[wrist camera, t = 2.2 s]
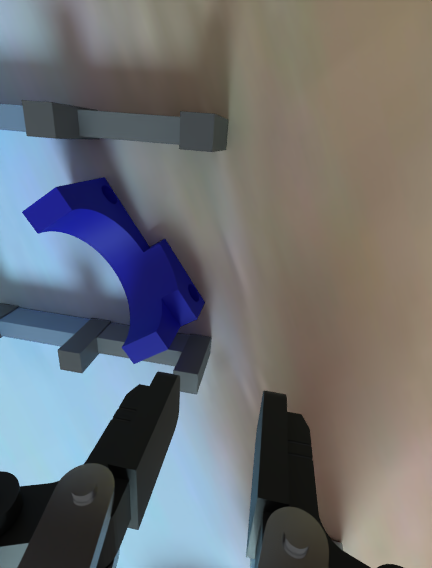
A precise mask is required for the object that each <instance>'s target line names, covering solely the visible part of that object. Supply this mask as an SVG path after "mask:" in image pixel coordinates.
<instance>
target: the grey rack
mask: <svg viewBox="0 0 432 568" xmlns="http://www.w3.org/2000/svg"><path fill="white" fill-rule="evenodd" d="M0 130H12V131H23V132H26V134H27V136H33V137H45V138H58V139H99V138H106V139H118V140H130V141H142V142H154V143H166V144H178V145H179V149H184V150H196V151H207V152H215V151H222V150H226V145H227V132H228V119H225V118H223V117H221V116H218V115H216V114H210V113H196V112H182V111H180V117H173V116H160V115H146V114H132V113H118V112H105V111H98V110H93V109H87V108H82V107H76V106H70V105H64V104H59V103H53V102H40V101H26V100H22V105H9V104H0ZM129 328H130V325H124V324H117V323H111V321H108V320H102V319H95V318H91V319H86V318H80V317H74V316H68V315H61V314H55V313H49V312H43V311H37V310H30V309H24V308H19V307H18V306H14V305H8V304H2V303H0V338H1V337H3V336H4V337H10V338H16V339H21V340H27V341H33V342H39V343H44V344H50V345H56V346H61V347H60V348H59V349H58V356H59V363H60V369H61V370H67V371H72V372H78V373H83V372H84V371H85V369H86V368H87V367H88V366H89V365H90V364H91V362H92V361H93V360H94V359H95V358H96V357H97V355H98V354H99V353H102V354H107V355H113V356H119V357H125V358H129V357H128V355H127V354H126V353H125V351H124V350H123V349H122V346H123V344H124V343H125V341H126V339H127V336H128V333H129ZM210 347H211V337H207V336H201V335H195V334H190V335H186V334H179V333H177V334H176V336H175V338H174V340H173V342H172V343H171V345H170V347H169V349H168V350H166V351H163V352H161V353H159V354H156V355H154V356H152V357H149V358H147V359H145V360H142V361H147V362H153V363H159V364H165V365H170V366H175V368H174V370H173V374H175V375H179V376H180V391H181V392H186V393H192V394H197V392H198V389H199V386H200V383H201V380H202V377H203V374H204V371H205V368H206V365H207V362H208V359H209V356H210Z"/></svg>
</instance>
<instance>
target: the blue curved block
mask: <svg viewBox="0 0 432 568" xmlns="http://www.w3.org/2000/svg"><path fill="white" fill-rule="evenodd" d="M22 213H23V214H24V216H25V217H26V218H27V220H28V221H29V222H30V224H31V225H32V226H33V228H34V229H35V231H36V232H37V233H42V232H47V231H56V232H63V233H67V234H70V235H73V236H75V237H77V238H79V239H81V240H83V241H84V242H86V243H87V244H89V245H90V246H92V247H93V248H94V249H95V250H96V251H98V252H99V253H100V254H101V255H102V256H103V257H104V258H105V260H106V261H107V262H108V263H109V264H110V266H111V267H112V268H113V270H114V271H115V273H116V274H117V276H118V278H119V280H120V281H121V283H122V286H123V288H124V290H125V293H126V296H127V299H128V304H129V309H130V328H129V333H128V336H127V339H126V341H125V343H124V344H123V346H122V349H123V350H124V351H125V353H126V354H127V355H128V357H129V358H130V359H131V361H132V362H133V363H134V364H135V363H138V362H140V361H142V360H145V359H147V358H149V357H152V356H154V355H156V354H159V353H161V352H163V351H166V350H168V349H169V347H170V345H171V343H172V342H173V340H174V338H175V336H176V334H177V332H178V330H179V329H180V327H181V326H183V325H185V324H188V323H190V322H192V321H194V320H197V318H198V316H199V314H200V312H201V310H202V308H203V306H204V304H205V302H204V300H203V298H202V297H201V295H200V294H199V292H198V290H197V289H196V287H195V286H194V284H193V282H192V281H191V279H190V278H189V276H188V274H187V273H186V271H185V270H184V268H183V266H182V265H181V263H180V262H179V260H178V259H177V257H176V255H175V254H174V252H173V251H172V249H171V247H170V246H169V244H168V243H167V241H166V239H163V240H162V241H160V242H158V243H156V244H155V245H153V246H151V247H149V245H148V244H147V242H146V241H145V239H144V238H143V236H142V235H141V233H140V232H139V230H138V228H137V227H136V225H135V224H134V222H133V221H132V219H131V218H130V216H129V214H128V213H127V211H126V210H125V208H124V207H123V205H122V204H121V202H120V200H119V199H118V197H117V196H116V194H115V193H114V191H113V190H112V188H111V187H110V185H109V183H108V182H107V180H106V179H105V177H103V178H98V179H93V180H88V181H83V182H78V183H74V184H69V185H64V186H59V187H55V188H54V189H53V190H51V191H50V192H49V193H47V194H46V195H45V196H43V197H42V198H40V199H39V200H38V201H36V202H35V203H34V204H32V205H31V206H30V207H28V208H27V209H26V210H24V211H23V212H22Z"/></svg>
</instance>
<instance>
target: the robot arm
mask: <svg viewBox="0 0 432 568" xmlns="http://www.w3.org/2000/svg"><path fill="white" fill-rule="evenodd" d="M179 399H180V376H179V375H175V374H170V373H164V372H157V373H156V375H155V377H154V379H153V381H152V382H151V384H150V386H146V385H141V384H139V385H138V386H137V387H135V388H134V389H133V390H131V391H130V392H129V393H128V394H127V395H126V396H125V398H124V400H123V401H122V403H121V405H120V406H119V409H118V410H117V411H116V413H115V414H114V416H113V419H112V420H111V421H110V423H109V424H108V426H107V428H106V429H105V431H104V433H103V434H102V436H101V438H100V439H99V441H98V443H97V444H96V446H95V447H94V449H93V451H92V452H91V454H90V456H89V457H88V459H87V460H86V462H85V463H84V465H80V466H78V467H76V468H74V469H72V470H70V471H69V472H68V473H66V474H65V475H64V476H63V477H62V478H61V480H60V481H57V482H54V483H48V484H39V485H30V486H21V487H20V486H19V482H18V480H17V478H16V477H15V476H14V475H13V474H11V473H8V472H0V568H116V566H117V562H118V558H119V548H120V545H121V543H122V540H123V538H124V535H125V533H126V530H127V528H132V529H136V530H139V527H140V524H141V521H142V519H143V516H144V513H145V510H146V508H147V505H148V502H149V499H150V497H151V494H152V491H153V488H154V486H155V483H156V480H157V477H158V475H159V472H160V469H161V467H162V464H163V461H164V458H165V456H166V453H167V450H168V447H169V445H170V442H171V439H172V436H173V434H174V431H175V428H176V424H177V420H178V415H179ZM246 557H248V558H250V568H371V567H369V566H367V565H366V564H364V563H362V562H360V561H359V560H357V559H355V558H354V557H352V556H350V555H349V554H347V553H346V552H344V551H343V547H342V543H340V542H335V541H333V540H331V538H330V537H329V536H328V534H327V533H326V531H325V530H324V528H323V526H322V523H321V521H320V518H319V513H318V505H317V495H316V486H315V476H314V466H313V460H312V447H311V438H310V429H309V427H308V425H307V423H306V422H305V420H304V418H303V416H302V415H301V414H296V413H291V412H287V397H286V394H281V393H275V392H269V391H263V396H262V402H261V408H260V414H259V420H258V426H257V433H256V442H255V454H254V466H253V479H252V491H251V503H250V515H249V528H248V540H247V552H246ZM377 568H403V567H401V566H398V565H394V564H385V565H381V566H379V567H377Z"/></svg>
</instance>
